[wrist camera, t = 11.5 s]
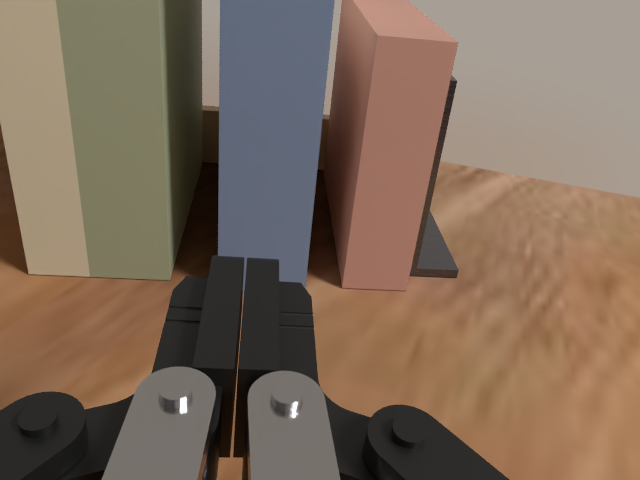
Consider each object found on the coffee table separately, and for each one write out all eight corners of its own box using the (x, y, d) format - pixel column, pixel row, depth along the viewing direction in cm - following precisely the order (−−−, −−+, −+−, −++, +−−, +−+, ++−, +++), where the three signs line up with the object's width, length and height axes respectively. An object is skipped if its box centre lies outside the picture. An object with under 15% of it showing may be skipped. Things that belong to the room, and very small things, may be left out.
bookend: (401, 275, 33) (440, 79, 27) (372, 184, 43) (396, 28, 37) (456, 277, 33) (506, 85, 28) (414, 186, 43) (444, 33, 38)
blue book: (216, 289, 30) (220, -265, 19) (236, 164, 44) (245, -198, 33) (305, 293, 30) (360, -246, 19) (297, 168, 44) (326, -188, 33)
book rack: (28, 274, 29) (-65, -225, 19) (109, 150, 44) (80, -175, 34) (433, 292, 32) (538, -150, 22) (385, 168, 46) (435, -132, 36)
